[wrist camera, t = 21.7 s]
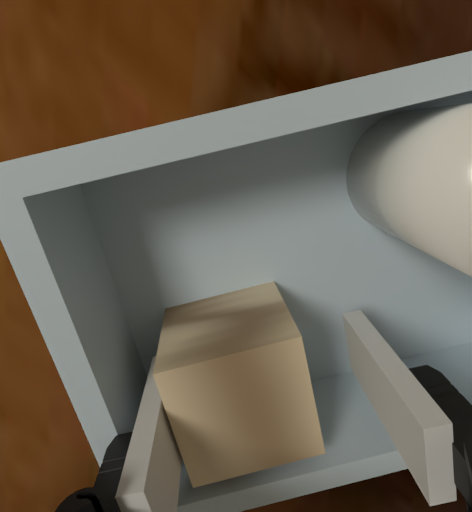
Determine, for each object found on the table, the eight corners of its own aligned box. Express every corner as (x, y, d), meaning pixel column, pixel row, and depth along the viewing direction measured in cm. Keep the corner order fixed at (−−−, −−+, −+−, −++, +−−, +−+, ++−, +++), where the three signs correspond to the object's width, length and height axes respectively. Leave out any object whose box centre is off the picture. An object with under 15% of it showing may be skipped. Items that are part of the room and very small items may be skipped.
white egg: (353, 242, 17) (451, 310, 11) (338, 125, 16) (441, 119, 9) (462, 215, 17) (627, 266, 11) (458, 97, 16) (648, 71, 9)
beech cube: (194, 398, 19) (193, 487, 14) (165, 308, 17) (152, 374, 13) (293, 373, 19) (325, 453, 14) (273, 281, 17) (301, 336, 13)
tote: (149, 431, 20) (131, 539, 15) (48, 157, 16) (-31, 169, 10) (522, 337, 20) (637, 409, 15) (526, 44, 16) (690, -2, 11)
